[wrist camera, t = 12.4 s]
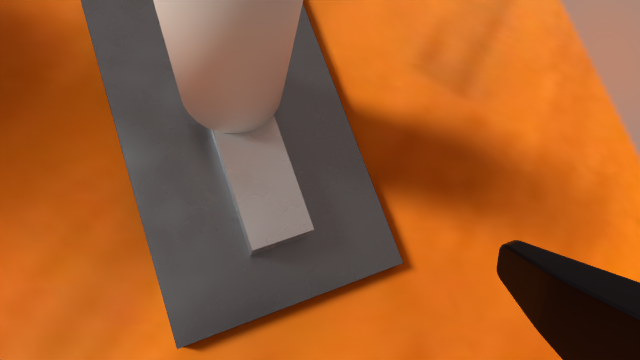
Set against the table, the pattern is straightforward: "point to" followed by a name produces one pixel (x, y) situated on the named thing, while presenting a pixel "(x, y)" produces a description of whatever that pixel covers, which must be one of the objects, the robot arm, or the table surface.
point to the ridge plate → (202, 194)
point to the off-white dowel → (229, 57)
